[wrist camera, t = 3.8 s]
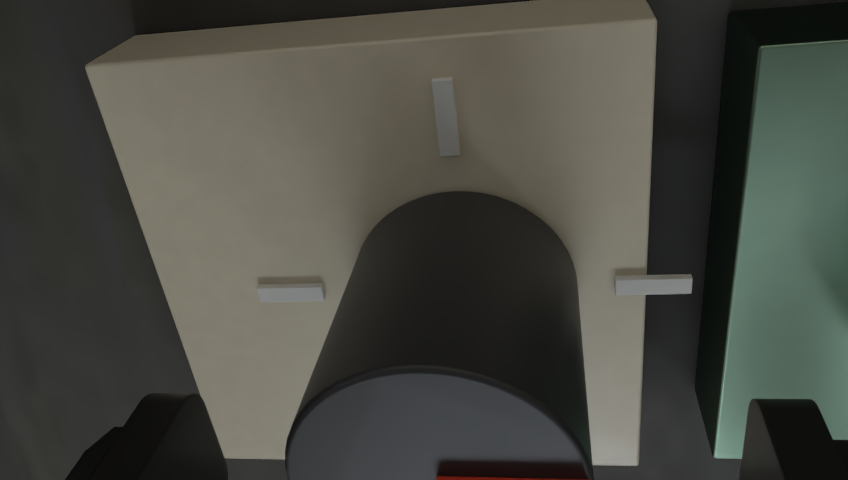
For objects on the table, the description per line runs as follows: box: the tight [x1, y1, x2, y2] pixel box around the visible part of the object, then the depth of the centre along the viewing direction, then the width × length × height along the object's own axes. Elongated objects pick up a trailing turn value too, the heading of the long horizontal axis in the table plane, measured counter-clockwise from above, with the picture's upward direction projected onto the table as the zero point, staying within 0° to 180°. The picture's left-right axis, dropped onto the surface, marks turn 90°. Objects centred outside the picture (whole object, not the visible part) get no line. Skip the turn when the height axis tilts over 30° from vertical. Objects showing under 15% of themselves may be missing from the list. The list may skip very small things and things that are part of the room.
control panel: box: [85, 0, 693, 466], centre depth 16 cm, size 11×10×2 cm
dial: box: [285, 191, 594, 480], centre depth 12 cm, size 4×4×5 cm
